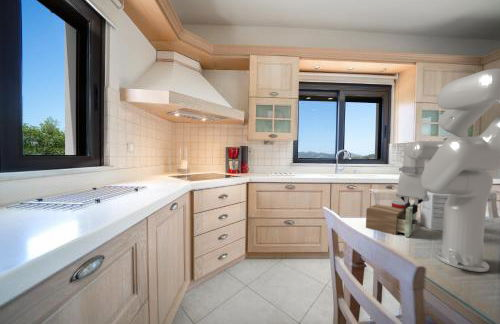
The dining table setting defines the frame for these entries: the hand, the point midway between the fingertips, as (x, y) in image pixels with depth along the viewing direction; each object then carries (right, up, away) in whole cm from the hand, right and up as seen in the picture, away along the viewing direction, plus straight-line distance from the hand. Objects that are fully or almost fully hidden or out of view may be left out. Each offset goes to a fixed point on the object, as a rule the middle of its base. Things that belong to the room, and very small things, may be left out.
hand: (411, 212), depth 95 cm
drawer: (-3, -9, +4) cm, 10 cm away
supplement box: (+19, -10, +9) cm, 23 cm away
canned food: (+5, -9, +14) cm, 17 cm away
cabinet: (-7, -9, +7) cm, 14 cm away
